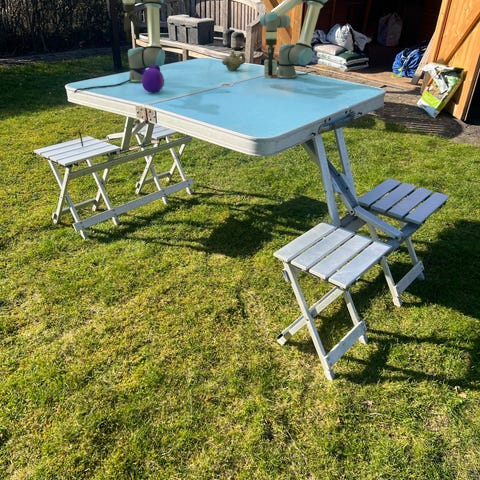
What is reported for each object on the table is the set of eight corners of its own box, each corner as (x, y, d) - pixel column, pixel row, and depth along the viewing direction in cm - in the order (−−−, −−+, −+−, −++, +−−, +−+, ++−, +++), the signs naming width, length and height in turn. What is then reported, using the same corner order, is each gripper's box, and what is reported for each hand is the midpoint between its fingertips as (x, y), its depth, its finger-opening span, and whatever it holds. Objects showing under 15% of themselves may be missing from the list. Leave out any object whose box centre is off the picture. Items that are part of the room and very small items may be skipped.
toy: (156, 85, 322) (164, 98, 301) (131, 81, 314) (137, 93, 294) (160, 63, 314) (168, 74, 293) (135, 58, 306) (141, 69, 286)
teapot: (225, 72, 362) (225, 52, 354) (219, 70, 371) (218, 51, 363) (248, 69, 371) (248, 50, 364) (241, 67, 380) (241, 48, 372)
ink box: (277, 77, 316) (277, 59, 310) (276, 78, 311) (276, 60, 305) (264, 77, 317) (265, 59, 311) (264, 78, 313) (264, 60, 307)
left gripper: (131, 2, 290) (135, 38, 301) (114, 4, 269) (120, 43, 280) (142, 2, 289) (146, 38, 300) (126, 4, 268) (131, 43, 279)
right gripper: (267, 36, 309) (266, 72, 321) (264, 40, 294) (263, 77, 306) (277, 36, 308) (277, 72, 320) (275, 40, 293) (274, 77, 305)
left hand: (133, 40), depth 290 cm, fingers open, 13 cm apart
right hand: (270, 74), depth 313 cm, fingers closed on ink box, 5 cm apart
